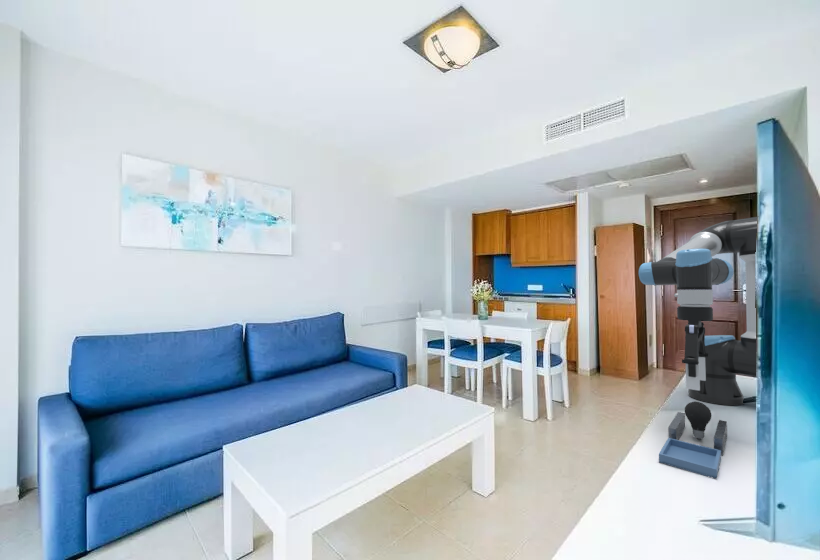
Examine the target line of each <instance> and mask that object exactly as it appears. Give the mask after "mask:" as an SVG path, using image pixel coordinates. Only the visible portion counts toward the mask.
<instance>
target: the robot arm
mask: <svg viewBox="0 0 820 560" xmlns="http://www.w3.org/2000/svg"><path fill="white" fill-rule="evenodd" d="M757 217H758V216H753V217H746V218H742V219H741V218H740V219H739V218H738V219H734V220H726V221H722V222H719V223H716V224H713V225H711V226H707V227H705V228H704V229H702V230H700V231H698V232H697V233H695V234H693V235H692V236H691V237H690V239H689V241H688V242H686V243H684V244H683V245H681V246H679V247H678V248H677V249H674V251H672V252H670V253H669V254H667V255H665V256H664V257H662V258H661V259H659V260H657V261H649V262H643V263H642V264H641V265H640V266H639V268H638V277H639V281H640V282H641V283H642V284H643V285H645V286H676V293H674V295H673V296H674V297H675V298H676V299H677V300H676V303H677V305H680V306H677V307H676V310H677V311H676V316H677V320H680V321H687V324H685V326H684V332H685V335H684V339H685V342H684V343H685V344H684V359H681V364H685V388H686V390H688V396H689V397H691V399H695V400H698V401H701V402H703V403H704V402H706V403H709V404H716V405H722V406H723V405H724V406H741V405H744V403H743V400H745V399H744V395H743V393H742V390H741V388H740V386H739V383H738V382H737V374H738V375H743V376H749V377H756V308H755V252H756V233H757ZM736 253H737V254H738V258H739V259H741V260H743V261H744V263H745V303H746V305H745V307H746V308H745V309H746V315H745V316H746V331H745V332H744V333H742V334H741V335H740V340H739V339H738V340H737V339H736V337H735V335H732V334H731V335H730V334H729V335H728V334H717V335H715V334H714V335H713V334H712V335H706V326H705V327H704V325H705V324H704V322H711V321H713V320H714V310H713V308H712V307H711V306H713V304H714V300H713V299H714V298H713V297H714V296H713V294H714V293H713V292H714V290H713V286H719V285H723V284H726V283H728V282H729V281H730V280H731V279H733V278H732V277H733V275H734V268H733V266H732V264H731V263H730V262H729V261H726V260H724V259H722V258H717V257H716V258H713V257H714V256H716V255H721V254H736ZM756 378H757V377H756Z"/></svg>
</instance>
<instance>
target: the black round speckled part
mask: <svg viewBox="0 0 820 560" xmlns="http://www.w3.org/2000/svg"><path fill="white" fill-rule="evenodd" d="M684 413H685V418H687V420H688V422H689V424H690V428H691V430H692V436H693V437H694V438H696V440H698V441H701V440H702V439H704V438H705V435H706V433H705V431H706V429H707V428H706V427H707V425H708V424H709V423H710V422H711V420H712V416H713V415H712V412H711V409H710V408H709V406H707V405H706V404H704V402H699V401H691V402H688V403H687V404H686V406H684Z"/></svg>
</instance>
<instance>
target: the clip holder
mask: <svg viewBox="0 0 820 560" xmlns="http://www.w3.org/2000/svg"><path fill="white" fill-rule="evenodd" d="M685 429H686V415H685V412H681V411H677V413H676V414H675V416H674V418H673V419H672V421H671V422H670V424H669V425H668V429H667V430H668V431H667V432H668V438H672V439H676V440H680V438H681V436H682V435H683V432H684V431H685ZM714 432H715V433H714V436H713V447H714V448H713V449H717V450H721V457H724V454H725V449H726V444H727V441H728V440H727V439H728V422H727V421H726V420H722V419H719V420H718V422H717V426H716V429H715V431H714Z"/></svg>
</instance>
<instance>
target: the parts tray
mask: <svg viewBox="0 0 820 560" xmlns="http://www.w3.org/2000/svg"><path fill="white" fill-rule="evenodd" d="M721 462H722V456H721V450H717V449H714V448H712V447H708V446H705V445H699V444H695V443H692V442H689V441H688V442H687V441H683V440H680V439H679V440H676V439H672V438H669V437H668V438H667V439H666V441H665V443H664V444H663V446H662V447H661V450H660V451H659V453H658V463H659V464H664V465H667V466H671V467H674V468H677V469H681V470H684V471H688V472H690V473H695V474H698V475H701V476H705V477H708V476H709V478H711V477H713V478H712V479H715V478H717V479H718V476H719V475H718V474H719V471H720V467H721Z"/></svg>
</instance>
